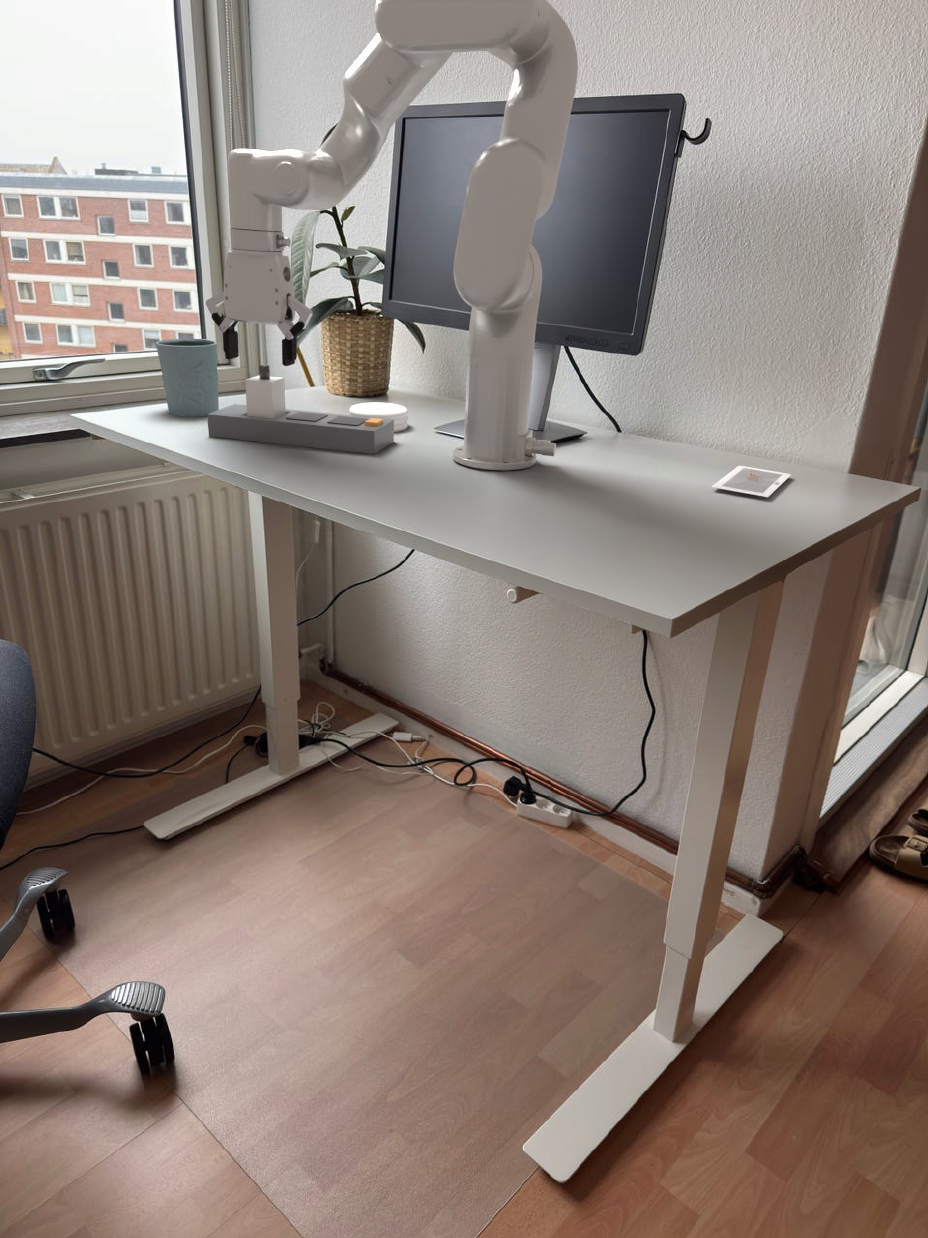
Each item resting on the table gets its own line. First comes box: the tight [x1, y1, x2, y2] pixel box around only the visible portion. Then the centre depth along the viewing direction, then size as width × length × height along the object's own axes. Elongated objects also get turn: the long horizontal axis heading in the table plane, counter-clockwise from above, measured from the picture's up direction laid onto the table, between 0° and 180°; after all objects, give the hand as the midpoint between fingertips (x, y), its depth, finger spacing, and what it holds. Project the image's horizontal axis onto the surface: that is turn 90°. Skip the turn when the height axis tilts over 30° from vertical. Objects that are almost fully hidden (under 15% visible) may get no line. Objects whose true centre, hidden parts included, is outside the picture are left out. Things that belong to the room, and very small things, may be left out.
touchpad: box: [711, 465, 792, 498], centre depth 127 cm, size 8×15×2 cm, turn 149°
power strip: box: [206, 403, 395, 455], centre depth 141 cm, size 28×9×4 cm, turn 75°
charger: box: [244, 364, 286, 419], centre depth 141 cm, size 4×4×11 cm
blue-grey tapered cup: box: [155, 338, 220, 418], centre depth 155 cm, size 10×10×12 cm
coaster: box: [349, 401, 409, 433], centre depth 152 cm, size 10×10×4 cm
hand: (260, 361), depth 138 cm, fingers open, 9 cm apart
